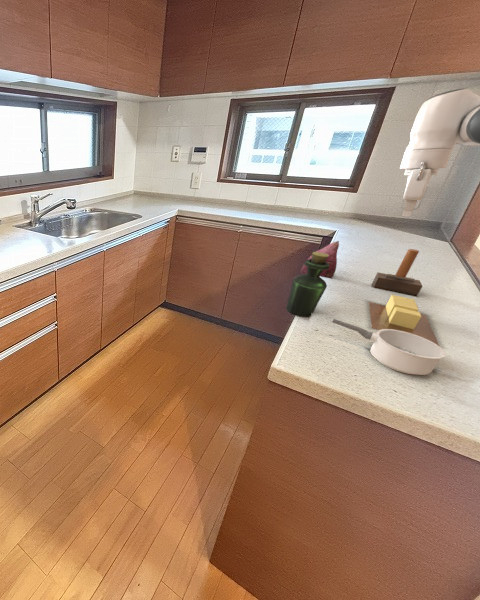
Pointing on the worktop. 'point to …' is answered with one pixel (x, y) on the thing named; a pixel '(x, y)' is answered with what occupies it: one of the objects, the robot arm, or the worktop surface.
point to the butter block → (400, 304)
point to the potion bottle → (308, 287)
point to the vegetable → (331, 260)
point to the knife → (405, 266)
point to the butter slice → (404, 317)
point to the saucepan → (398, 358)
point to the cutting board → (382, 322)
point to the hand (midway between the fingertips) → (406, 215)
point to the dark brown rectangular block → (396, 285)
